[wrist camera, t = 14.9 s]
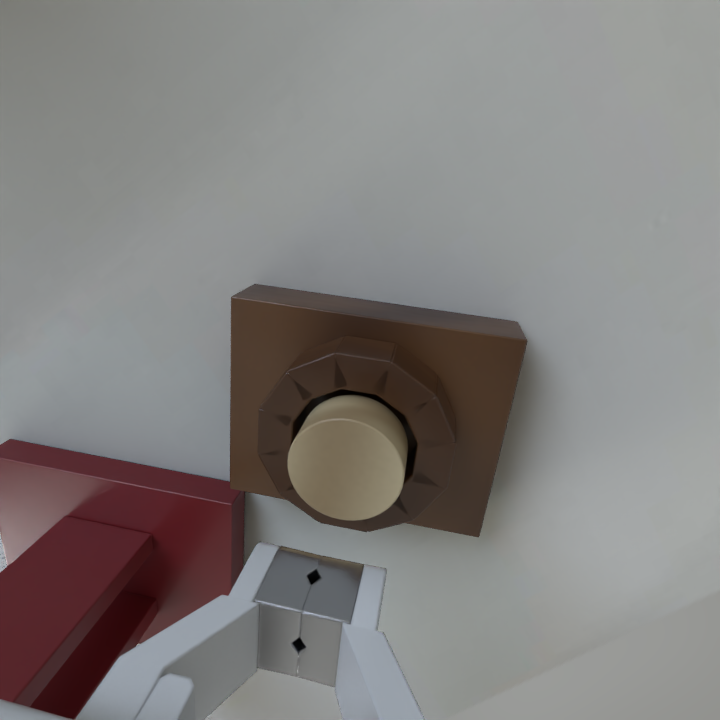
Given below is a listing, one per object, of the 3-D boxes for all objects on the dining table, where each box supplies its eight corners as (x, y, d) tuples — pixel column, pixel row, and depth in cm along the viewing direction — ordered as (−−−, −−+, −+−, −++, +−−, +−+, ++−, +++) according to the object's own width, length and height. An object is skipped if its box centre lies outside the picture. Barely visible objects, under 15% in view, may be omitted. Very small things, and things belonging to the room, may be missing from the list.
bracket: (245, 484, 22) (48, 783, 11) (242, 640, 26) (91, 981, 15) (9, 438, 23) (-372, 664, 12) (38, 592, 27) (-237, 871, 16)
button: (415, 403, 15) (412, 430, 14) (400, 497, 17) (395, 531, 15) (305, 385, 16) (289, 409, 14) (299, 478, 17) (284, 509, 15)
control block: (518, 321, 17) (538, 359, 14) (475, 502, 20) (482, 573, 17) (254, 283, 19) (206, 309, 15) (250, 459, 21) (209, 517, 18)
